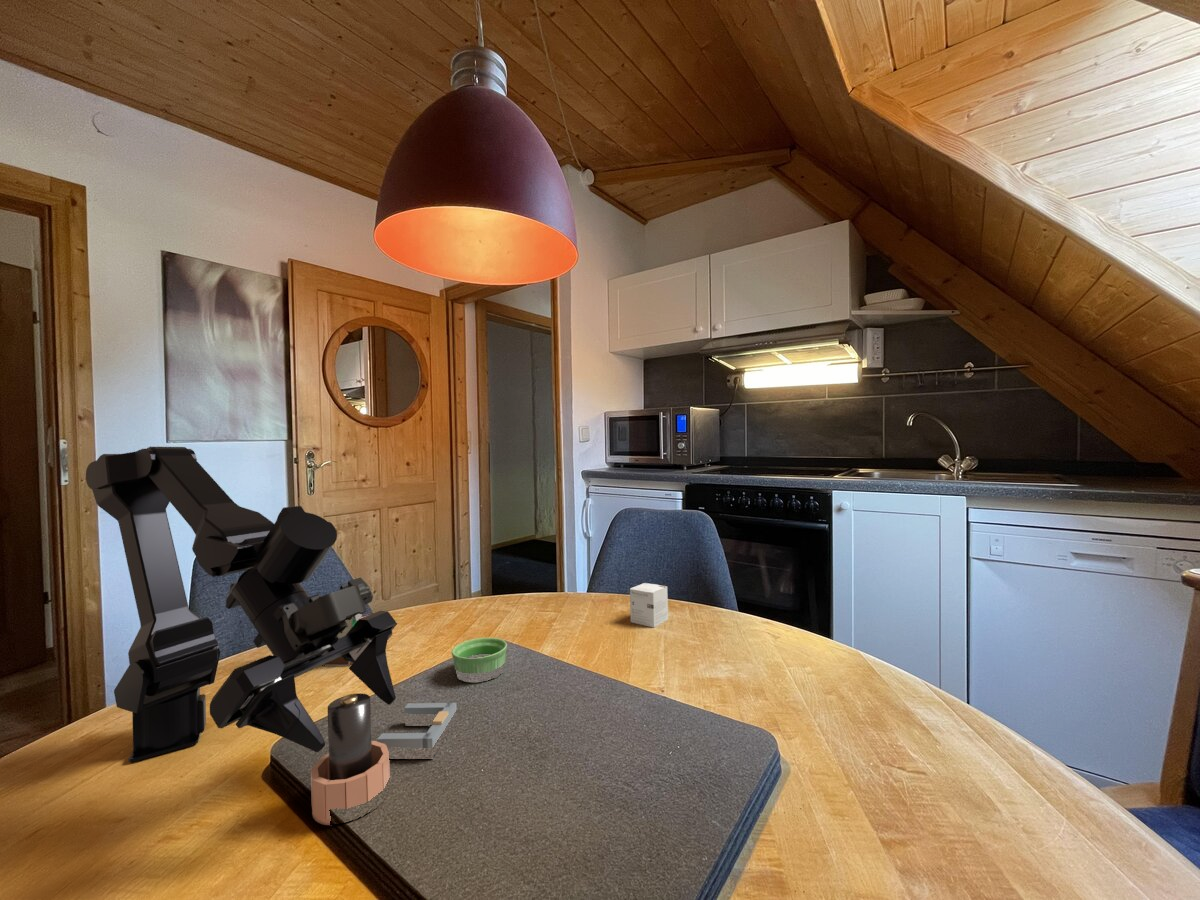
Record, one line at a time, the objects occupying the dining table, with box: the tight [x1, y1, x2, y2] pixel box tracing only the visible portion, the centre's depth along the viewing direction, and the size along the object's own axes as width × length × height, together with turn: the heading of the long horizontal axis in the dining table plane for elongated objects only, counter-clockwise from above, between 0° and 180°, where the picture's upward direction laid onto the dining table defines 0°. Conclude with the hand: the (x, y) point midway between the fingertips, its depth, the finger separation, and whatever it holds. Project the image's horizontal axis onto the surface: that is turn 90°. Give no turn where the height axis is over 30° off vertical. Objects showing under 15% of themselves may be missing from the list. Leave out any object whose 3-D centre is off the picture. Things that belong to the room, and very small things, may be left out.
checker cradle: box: [376, 702, 458, 748], centre depth 61 cm, size 7×8×3 cm
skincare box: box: [629, 582, 669, 628], centre depth 103 cm, size 6×6×7 cm
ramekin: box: [451, 637, 508, 674], centre depth 81 cm, size 9×9×4 cm
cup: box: [310, 740, 391, 826], centre depth 51 cm, size 7×7×4 cm
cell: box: [327, 692, 372, 780], centre depth 51 cm, size 4×4×10 cm
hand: (360, 723), depth 50 cm, fingers open, 9 cm apart
